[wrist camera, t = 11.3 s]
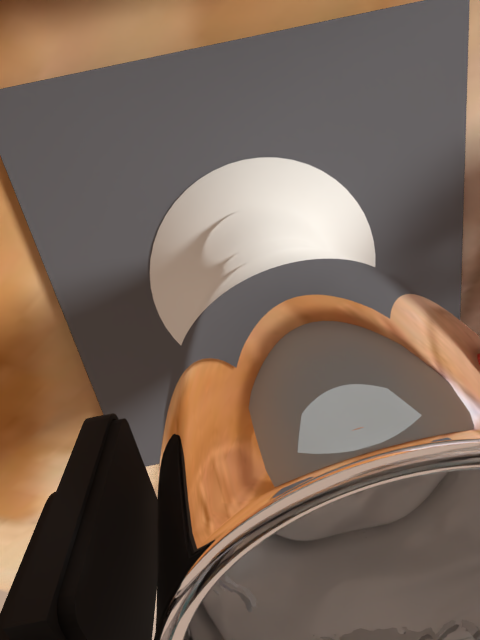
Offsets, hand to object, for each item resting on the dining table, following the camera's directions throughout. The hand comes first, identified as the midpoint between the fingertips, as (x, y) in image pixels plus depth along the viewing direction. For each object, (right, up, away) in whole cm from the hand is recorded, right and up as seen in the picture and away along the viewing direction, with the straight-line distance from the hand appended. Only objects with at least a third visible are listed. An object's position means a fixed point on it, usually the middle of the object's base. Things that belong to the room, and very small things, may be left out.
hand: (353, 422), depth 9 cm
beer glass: (-1, +4, +10) cm, 11 cm away
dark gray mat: (-1, +4, +11) cm, 12 cm away
